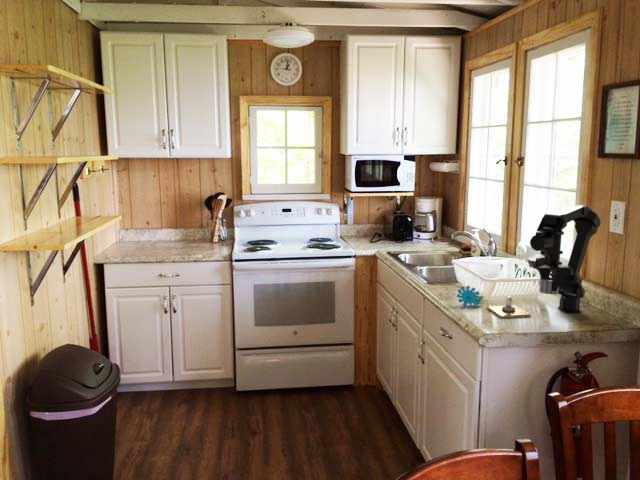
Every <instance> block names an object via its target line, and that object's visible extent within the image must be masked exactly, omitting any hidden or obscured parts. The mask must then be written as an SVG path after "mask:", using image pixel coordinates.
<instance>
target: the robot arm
mask: <svg viewBox="0 0 640 480" xmlns="http://www.w3.org/2000/svg"><path fill="white" fill-rule="evenodd" d="M572 221H573V222H574V228H575V232H576V236H575V240H574V244H573V247H572V249H571V253H570V257H569V260H568V263H567V265H565V264H564V265H563V262H562V261H560V259H561V255H563V253H564V252H563V251H562V250H561V249H562V248H561V245H562V236H564V235H565V232H564V231H563V230H564V229H565V228H566V227H567V225H568V223H570V222H572ZM600 227H601V218H600V216H599V215H598V213H596V212H595V211H594V210H591V209H590V208H589V206H587V205H584V204H574V205H573V206H571V207H569V208H566V209H564V210H561V211H559V212H546V213H545V214H544V215H543V216H542V217H541V221H540V222H539V225H538V227H537V229H536V231H535V234H534V235H533V236H532V237H531V238H530V240H529V245H530V247H531V249H532V250H534V251H536V252H539V253H538V254H534V255H532V256H530V257H527V263H528V266H529V268H533V269H535V270H536V271H537V272H538V273H539V279H540V278H541V277H552V288H553V291H556V290H557V289H558V287H559V293H558V294H557V295H560V298H559V305H558V307H557V309H558V310H560V311H562V312H564V313H566V314H571V313H575V314H576V313H582V312H583V311H582V310H581V309H580V303H581V299H583V298H584V297H585V295H586V290H585V289H584V287H583V285H582V283H583V279H582V275H581V269H582V266H583V263H584V259H585V256H586V254H587V250H588V247H589V243H590V239H591V238H592V237H593V236H594V235H595V234H596V233H598V230H599V228H600Z"/></svg>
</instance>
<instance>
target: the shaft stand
mask: <svg viewBox="0 0 640 480" xmlns="http://www.w3.org/2000/svg"><path fill="white" fill-rule="evenodd" d="M505 299H506V300H505V301H506V302H505V305H491V306H487V307H486V309H487V310H488V311H489V312H491V313H492V314H493V315H496V316H497V317H498V318H500V319H510V318H511V319H513V318H514V319H515V318H531V317H532V314H531V313H530V312H528V311H526V310H525V309H523V308H521V307H520V306H517V305H516V304H513V305H512V303H513V301H512V300H513V298H512V296H506V298H505Z"/></svg>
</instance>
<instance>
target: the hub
mask: <svg viewBox="0 0 640 480" xmlns="http://www.w3.org/2000/svg"><path fill="white" fill-rule="evenodd" d="M539 292H540V293H542V294H546V295H559V294H558V293H559V287H558V289H557V290H556V291H553V288H552V277H551V276H549V277H541V278H540V277H539Z"/></svg>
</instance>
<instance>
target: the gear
mask: <svg viewBox="0 0 640 480" xmlns="http://www.w3.org/2000/svg"><path fill="white" fill-rule="evenodd" d="M470 288H471V286H470V285H466V287H465V286H461V287H460V288H459V289H458V290H457V294H456V298H458V302H459V303H462V302H463V303H462V306H463V307H466V306H467V305H468V304H469V305H468V306H467V308H469V309H471V308H477V307H478V305H480V304H481V300H483V299H484V298H485V296H484V295H480V291H479V290H478V291H476V288H475V287H472V288H471V290H470ZM465 289H466V290H465ZM472 304H473V306H472Z"/></svg>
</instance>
